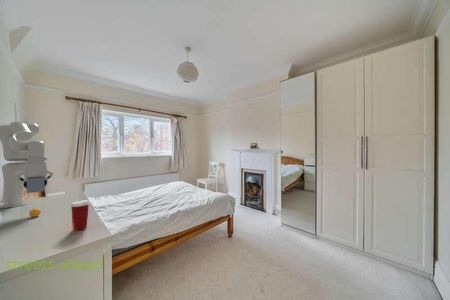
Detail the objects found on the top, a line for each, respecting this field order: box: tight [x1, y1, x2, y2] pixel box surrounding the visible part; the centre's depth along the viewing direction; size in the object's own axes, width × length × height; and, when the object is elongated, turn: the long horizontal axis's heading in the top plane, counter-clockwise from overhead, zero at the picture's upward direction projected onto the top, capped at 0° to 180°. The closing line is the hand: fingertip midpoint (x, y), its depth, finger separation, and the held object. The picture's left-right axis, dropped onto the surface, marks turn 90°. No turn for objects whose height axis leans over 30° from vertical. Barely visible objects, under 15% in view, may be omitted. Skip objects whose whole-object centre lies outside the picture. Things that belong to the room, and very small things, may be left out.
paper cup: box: [70, 199, 90, 232], centre depth 93 cm, size 8×8×14 cm
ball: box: [28, 207, 42, 218], centre depth 109 cm, size 5×5×5 cm
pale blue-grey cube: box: [26, 177, 45, 194], centre depth 115 cm, size 8×8×9 cm
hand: (35, 186), depth 115 cm, fingers closed on pale blue-grey cube, 7 cm apart
